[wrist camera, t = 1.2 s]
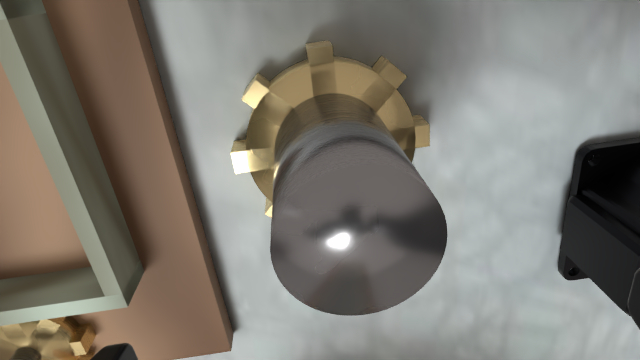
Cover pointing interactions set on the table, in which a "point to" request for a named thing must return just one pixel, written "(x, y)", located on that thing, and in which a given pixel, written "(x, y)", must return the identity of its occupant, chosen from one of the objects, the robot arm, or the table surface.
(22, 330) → the gear
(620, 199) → the robot arm
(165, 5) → the table surface
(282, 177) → the brass gear
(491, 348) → the table surface
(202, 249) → the gear board
